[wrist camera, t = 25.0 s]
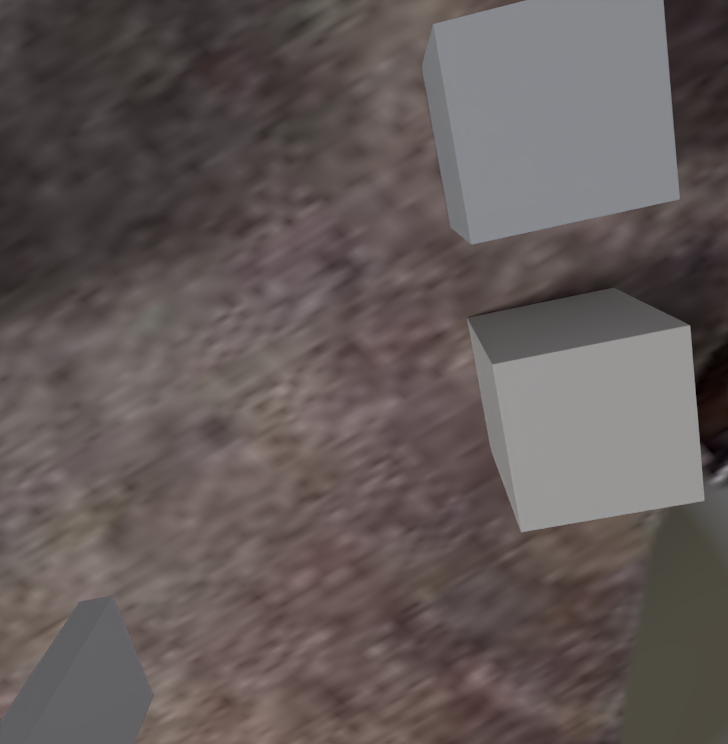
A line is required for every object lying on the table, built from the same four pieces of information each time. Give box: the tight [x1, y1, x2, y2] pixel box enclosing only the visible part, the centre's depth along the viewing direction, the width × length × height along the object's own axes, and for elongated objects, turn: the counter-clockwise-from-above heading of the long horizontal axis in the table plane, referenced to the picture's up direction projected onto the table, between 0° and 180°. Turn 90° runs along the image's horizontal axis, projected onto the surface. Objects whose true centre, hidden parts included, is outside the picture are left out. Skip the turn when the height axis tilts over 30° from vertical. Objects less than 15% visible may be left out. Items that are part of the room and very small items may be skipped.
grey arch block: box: [422, 0, 680, 245], centre depth 30 cm, size 9×9×10 cm
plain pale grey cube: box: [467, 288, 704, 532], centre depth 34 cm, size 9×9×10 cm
